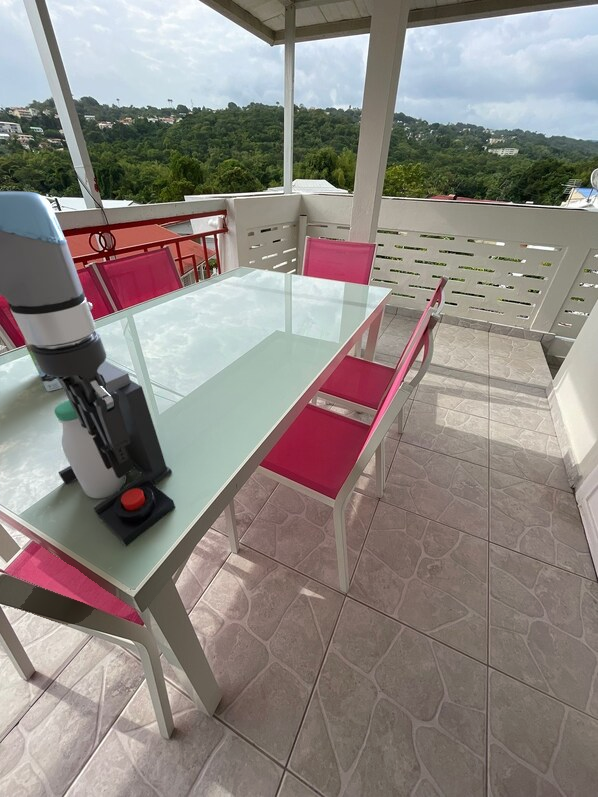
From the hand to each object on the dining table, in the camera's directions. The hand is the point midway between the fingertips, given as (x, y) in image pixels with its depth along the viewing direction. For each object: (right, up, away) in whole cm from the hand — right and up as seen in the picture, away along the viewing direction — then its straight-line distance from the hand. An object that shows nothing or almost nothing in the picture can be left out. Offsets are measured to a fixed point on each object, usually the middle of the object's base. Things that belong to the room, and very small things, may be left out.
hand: (120, 467), depth 55 cm
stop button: (0, -7, +5) cm, 9 cm away
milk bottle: (-10, -6, +13) cm, 17 cm away
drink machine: (-8, -5, +15) cm, 18 cm away
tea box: (-43, +18, +47) cm, 67 cm away
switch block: (0, -10, +7) cm, 13 cm away
